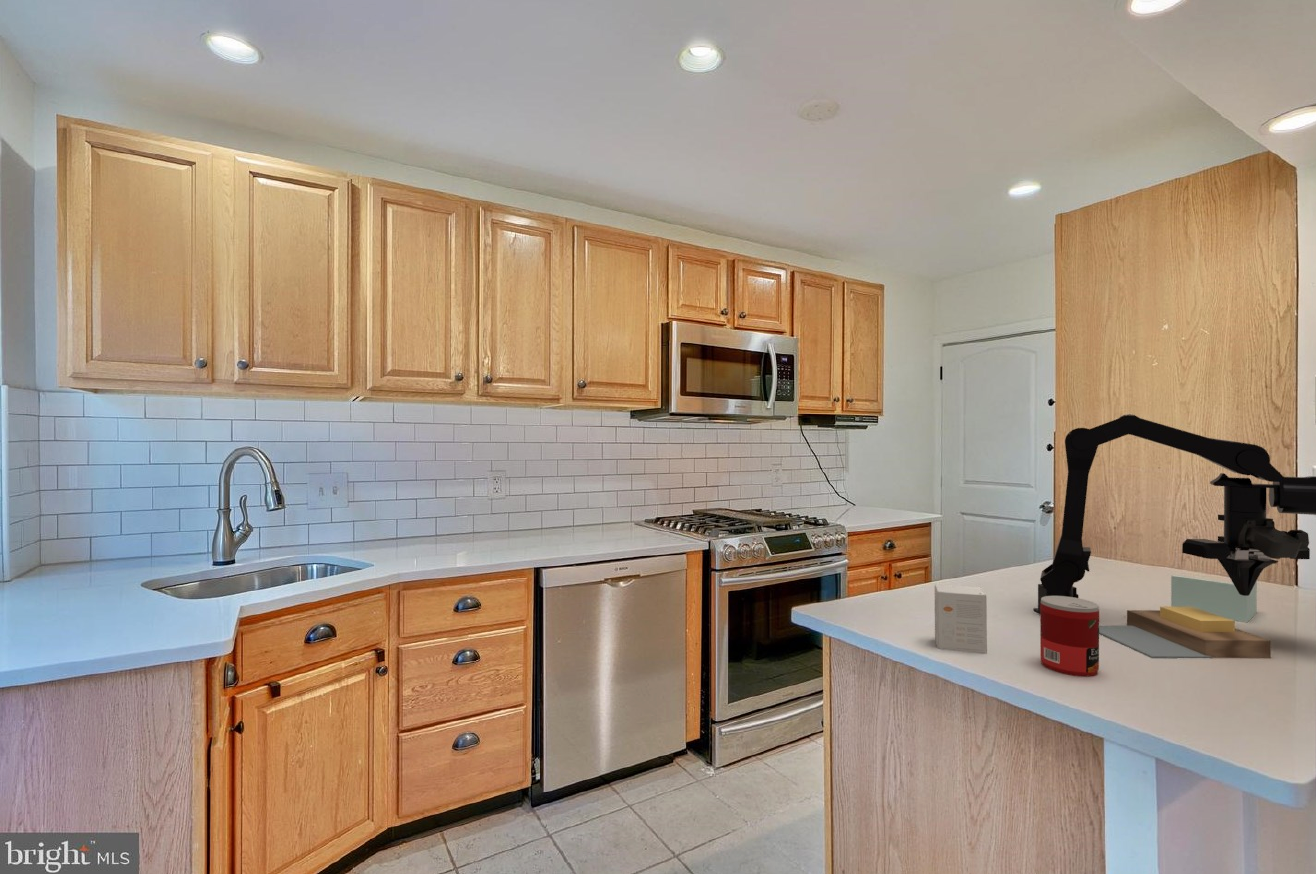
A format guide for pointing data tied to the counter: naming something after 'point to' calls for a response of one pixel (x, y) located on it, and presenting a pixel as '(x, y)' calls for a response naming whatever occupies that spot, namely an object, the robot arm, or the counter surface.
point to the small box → (961, 618)
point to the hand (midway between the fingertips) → (1244, 595)
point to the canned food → (1069, 635)
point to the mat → (1147, 642)
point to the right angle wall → (1213, 598)
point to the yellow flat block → (1197, 619)
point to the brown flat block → (1201, 637)
